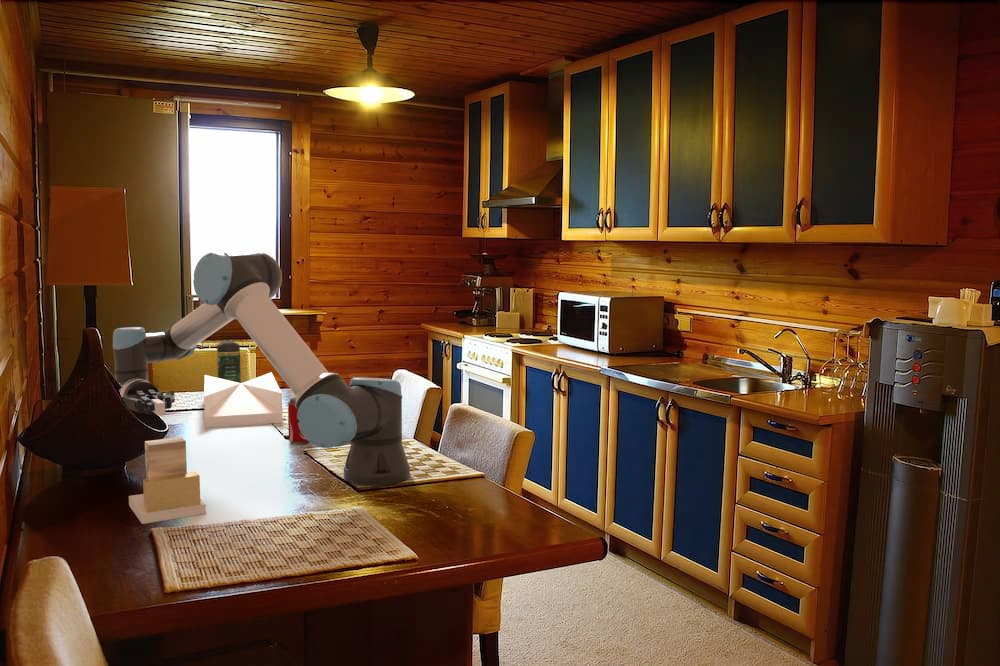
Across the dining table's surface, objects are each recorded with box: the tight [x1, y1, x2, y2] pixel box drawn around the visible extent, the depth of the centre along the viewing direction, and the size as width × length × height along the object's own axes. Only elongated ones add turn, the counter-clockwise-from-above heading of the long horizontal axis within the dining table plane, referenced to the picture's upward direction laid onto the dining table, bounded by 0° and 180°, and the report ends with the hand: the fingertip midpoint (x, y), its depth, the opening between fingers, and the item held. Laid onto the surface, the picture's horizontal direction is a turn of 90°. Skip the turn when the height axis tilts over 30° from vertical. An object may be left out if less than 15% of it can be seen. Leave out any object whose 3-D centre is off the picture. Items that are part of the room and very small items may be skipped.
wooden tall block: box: [144, 436, 188, 479], centre depth 175 cm, size 5×7×12 cm, turn 123°
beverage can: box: [287, 397, 310, 445], centre depth 235 cm, size 6×6×12 cm
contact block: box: [142, 471, 201, 513], centre depth 171 cm, size 3×10×6 cm, turn 123°
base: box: [128, 493, 207, 525], centre depth 176 cm, size 14×12×2 cm
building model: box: [203, 371, 283, 428], centre depth 279 cm, size 45×22×10 cm, turn 18°
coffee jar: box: [216, 340, 242, 383], centre depth 314 cm, size 10×8×19 cm
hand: (161, 409), depth 189 cm, fingers closed
